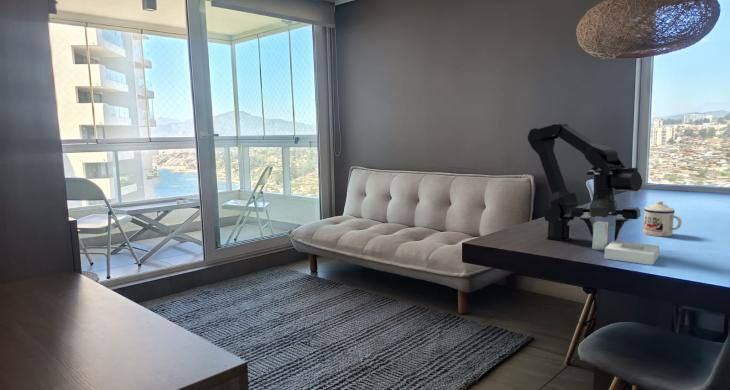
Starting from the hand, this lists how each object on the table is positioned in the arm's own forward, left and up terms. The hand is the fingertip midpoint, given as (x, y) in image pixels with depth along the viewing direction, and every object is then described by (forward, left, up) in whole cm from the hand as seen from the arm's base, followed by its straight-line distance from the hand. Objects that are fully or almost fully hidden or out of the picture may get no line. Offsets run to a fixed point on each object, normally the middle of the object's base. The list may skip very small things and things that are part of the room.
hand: (604, 239), depth 146 cm
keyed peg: (-1, 0, -3) cm, 3 cm away
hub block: (+9, -6, -3) cm, 11 cm away
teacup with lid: (+12, +32, -3) cm, 34 cm away
